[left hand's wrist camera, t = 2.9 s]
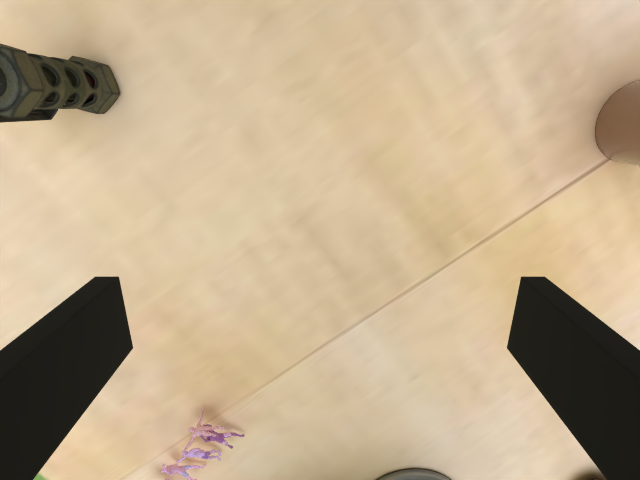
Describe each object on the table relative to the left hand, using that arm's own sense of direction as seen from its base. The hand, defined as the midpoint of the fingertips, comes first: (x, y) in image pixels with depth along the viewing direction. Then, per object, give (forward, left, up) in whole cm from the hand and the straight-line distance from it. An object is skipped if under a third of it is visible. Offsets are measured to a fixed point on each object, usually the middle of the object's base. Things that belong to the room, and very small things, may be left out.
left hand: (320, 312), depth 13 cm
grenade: (+8, +23, -28) cm, 37 cm away
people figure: (-37, +17, -28) cm, 49 cm away
